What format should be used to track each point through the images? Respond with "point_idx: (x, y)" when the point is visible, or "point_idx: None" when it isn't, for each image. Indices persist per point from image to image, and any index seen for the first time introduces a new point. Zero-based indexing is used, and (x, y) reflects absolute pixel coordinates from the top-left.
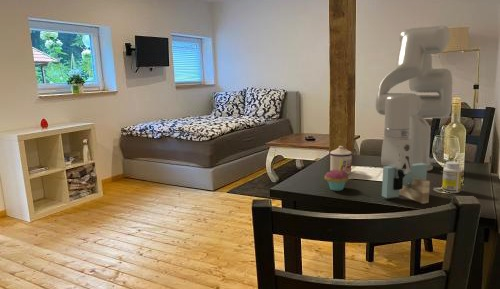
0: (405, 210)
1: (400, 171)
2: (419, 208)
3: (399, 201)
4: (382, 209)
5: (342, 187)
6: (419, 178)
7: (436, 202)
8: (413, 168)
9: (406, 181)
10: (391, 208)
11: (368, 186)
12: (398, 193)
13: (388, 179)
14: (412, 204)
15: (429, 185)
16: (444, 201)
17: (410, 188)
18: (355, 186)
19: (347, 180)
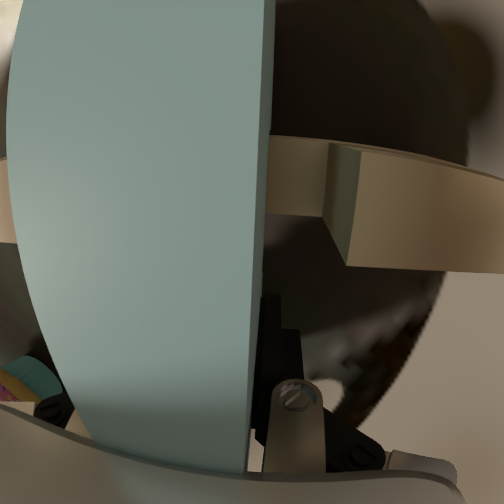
0: (410, 354)
1: (247, 443)
2: (441, 283)
3: (304, 295)
4: (337, 414)
5: (52, 384)
6: (405, 172)
7: (439, 107)
8: (260, 185)
9: (262, 257)
10: (354, 386)
11: (14, 248)
12: (261, 288)
13: (248, 456)
14: (386, 268)
15: (500, 178)
16: (444, 51)
17: (301, 209)
18: (12, 300)
19: (39, 399)
